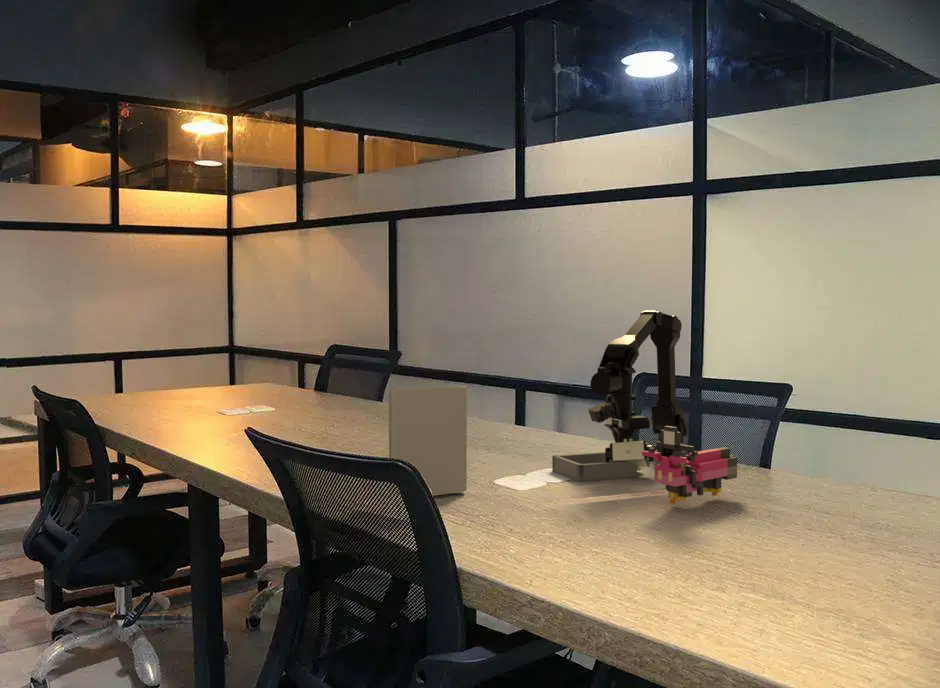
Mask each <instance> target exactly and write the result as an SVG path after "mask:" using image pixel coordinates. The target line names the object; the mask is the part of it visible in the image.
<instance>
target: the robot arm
mask: <svg viewBox="0 0 940 688" xmlns="http://www.w3.org/2000/svg"><path fill="white" fill-rule="evenodd" d="M682 328H683V327H682V321H681V320H680V319H679V318H678V317H677V315H670V314H667V313H663V312H662V311H659V310H644V311H641V312H640V315H639V317H638V318H637V320H635V322H634V323H633V324H632V326H631V327H630V328H629V329H628V330H627V331H626V332H625V334H624V335H622V336H621V337H618V338H615V339H613V340H612V341H611V342H609V343H607V344H608V345H607V346H606V348H605V350H604V353H603V355H602V357H601V359H600V363H599V366H598V367H597V372H595V373H594V374H593V376H592V377H591V379H590V382H589V383H590V388H591V391H592V392H593V393H594V394H596V395H598V396H604V395H605V398H604V399H605V401H604V402H600V403H597V404H596V405H594V406H592V407H590V408H588V413H589V416H590V419H591V422H595V423H598V424H600V423H604V422H605V421H606V423H605V424H603V425H604V426H605V427H606V428H607V429H609V430H610V432H611V434H612V436H613V439H614V443H620V442H624V439H627V442H629V439H631V437H632V436H633V434H634V433H635V430H646V429H651V425H652V430H653V434H656V435H657V436H658V437H657V438H658V439H657V440H656V441H660V430H664V426H671V427H677V432H681V444H682V445H684V437H686V436H688V435H689V432H690V426H689V424H688V422H687V420H686V418H685V416H684V412H683V407H682V404H680V403H681V402H680V401H679V400H678V399H677V387H676V386H677V385H676V384H677V383H676V382H677V381H676V356H675V355H676V353H675V352H676V350H675V349H676V345H677V343H678V342H679V340H680V339H681V331H682ZM648 337H650V340H651V341H652V343H653V345H654V346H655V348H656V369H657V373H656V375H657V400H656V402H655V404H654V405H652V406H651V420H650V419H649V417H647V416H645V415H644V416H643V415H636V412H635V411H633V401H636V396H635V395H633V374H636V369H635V368H634V367H633V365H635V363H636V361H637V360H638V357H639V356H640V352H639V349H640V347H641V346H642V344H644V342H645V341H646V340H647V338H648ZM656 451H657V452H661V456H665V457H670V456H671V455H673V449H668V448H664V447H661V446H659V450H656ZM682 452H684V450H682ZM685 456H687V454H685Z"/></svg>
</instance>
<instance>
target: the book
mask: <svg viewBox="0 0 940 688" xmlns="http://www.w3.org/2000/svg"><path fill="white" fill-rule="evenodd" d="M467 393H468V387H467V386H466V385H445V386H443V385H442V386H423V387H398V388H396V387H395V388H388V459H389V458H398V459H402V460H406V461H408V462H410V463H412V464H413V465H414V466H415V467H416V468H417V469H418V470H419V471H420V473H421V474H422V476H423V478H424V479H425V481H426V483H427V485H428V486H429V488H430V489H431V491H432V494H433V496H434V495H442V494H443V495H445V494H452V493H453V494H454V493H462V492H466V491H468V489H467V488H468V487H467V483H468V482H467V478H468V477H467V469H468V468H467V467H468V466H467V465H468V464H467V459H468V458H467V457H468V455H467V454H468V453H467V451H468V450H467V449H468V447H467V446H468V445H467V444H468V443H467V441H468V439H467V436H468V435H467V431H468V429H467V428H468V427H467V424H468V422H467V421H468V419H467V418H468V417H467V416H468V414H467V413H468V411H467V409H468V407H467V400H468V399H467V398H468V396H467Z"/></svg>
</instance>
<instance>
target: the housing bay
mask: <svg viewBox="0 0 940 688" xmlns="http://www.w3.org/2000/svg"><path fill="white" fill-rule="evenodd" d="M551 472H554V473H555V474H559V475H561V476H564V477H566V478H568V479H572V480H574V481H576V482H578V483H580V482H592V481H602V480H603V481H604V480H617V479H628V478H629V479H631V478H637V477H638V471H637V464H635V463H630V462H606V458H605V451H601V452H586V453H585V452H584V453H571V454H558V455H557V454H556V455H552V471H551Z"/></svg>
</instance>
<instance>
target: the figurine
mask: <svg viewBox="0 0 940 688" xmlns="http://www.w3.org/2000/svg"><path fill="white" fill-rule="evenodd" d="M677 431H678V430H677V427H671V426H664V429H663V430H660V441H657V440H656V441H655V444H652V445H653V448H649V451H642V456H648V457H654V458H655V462H659V464H655V465H654V483H655V484H660V485H665V488H664V489H665V490H666V492H668V499H669V502H668V503H669V504H671V505H675V504H676V502H684V501H686V498H689V497H692V496H693V493H694V492H696V495H697V496H704V493H711V496H713V497H717V496H718V495H719V494H718V493H721V492H722V480H734V479H738V457H736V455H734V454H731V447H726V446H725V447H724V446H723V447H722V446H721V447H717V448H711V449H710V448H709V449H704V450H699V451H697V450H695V445H687V444H683V445H682V444H681V432H677ZM659 446H661V447H664V448H668V449H673V455H671V456H670V457H665V456H661V452H657V450H659ZM682 450H683V452H682ZM686 451H688V455H686ZM685 455H686V456H685Z"/></svg>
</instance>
